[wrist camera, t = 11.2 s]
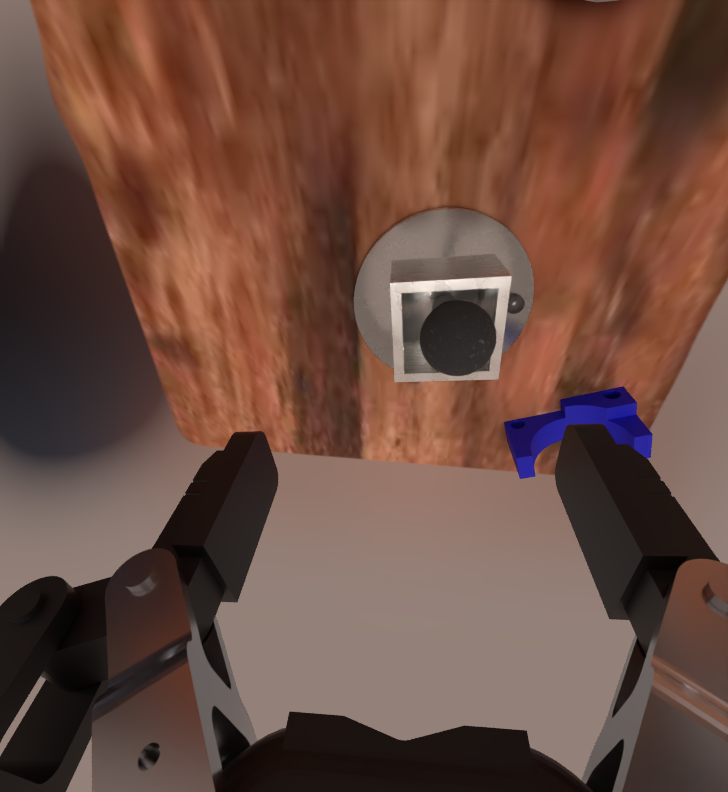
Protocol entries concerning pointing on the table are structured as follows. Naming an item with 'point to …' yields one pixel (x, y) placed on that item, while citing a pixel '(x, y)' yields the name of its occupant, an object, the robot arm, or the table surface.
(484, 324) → the light bulb
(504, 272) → the lamp base
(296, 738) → the robot arm
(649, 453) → the cable clip
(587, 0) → the flag stand
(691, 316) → the table surface
